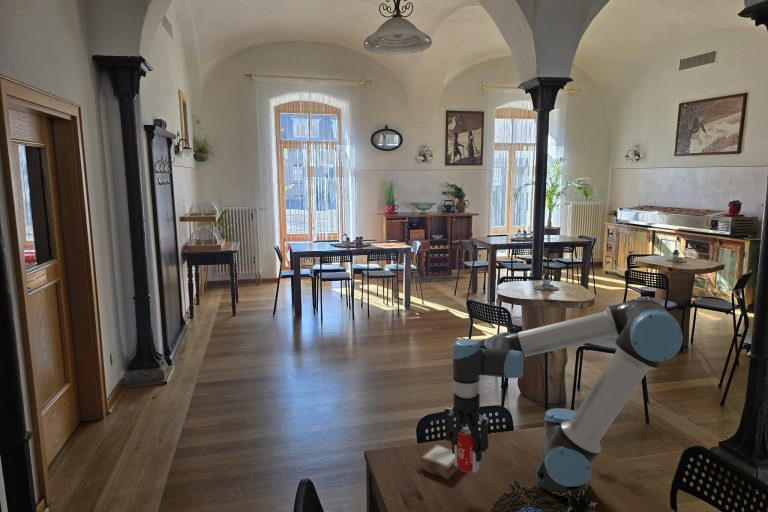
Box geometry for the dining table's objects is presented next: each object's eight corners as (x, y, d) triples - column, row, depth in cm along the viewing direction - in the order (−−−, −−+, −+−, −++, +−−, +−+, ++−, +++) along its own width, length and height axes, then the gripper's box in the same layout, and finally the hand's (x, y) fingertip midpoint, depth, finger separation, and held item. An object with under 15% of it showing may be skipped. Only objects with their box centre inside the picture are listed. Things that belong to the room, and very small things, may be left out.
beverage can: (475, 473, 148) (475, 435, 146) (457, 472, 149) (457, 434, 147) (475, 464, 153) (475, 426, 151) (458, 462, 154) (458, 425, 152)
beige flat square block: (463, 464, 167) (463, 453, 166) (448, 479, 159) (448, 467, 158) (436, 454, 173) (436, 443, 172) (420, 468, 165) (420, 456, 164)
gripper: (501, 395, 145) (501, 470, 149) (445, 381, 156) (446, 452, 159) (490, 405, 139) (490, 483, 143) (432, 390, 150) (433, 463, 153)
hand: (466, 467), depth 151 cm, fingers closed on beverage can, 5 cm apart
